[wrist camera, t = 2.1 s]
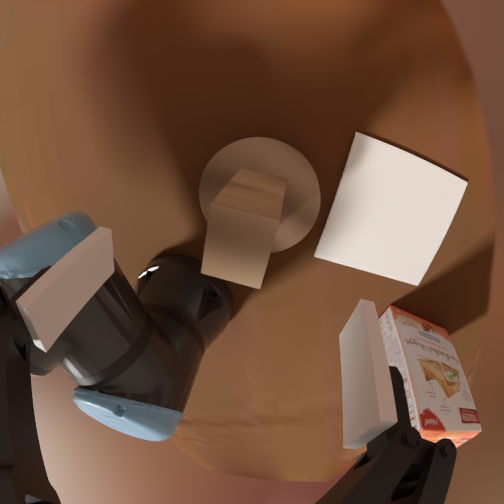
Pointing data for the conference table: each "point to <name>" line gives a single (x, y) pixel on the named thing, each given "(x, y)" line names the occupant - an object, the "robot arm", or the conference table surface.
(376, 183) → the mat
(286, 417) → the conference table surface
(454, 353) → the cracker box
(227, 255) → the lid
